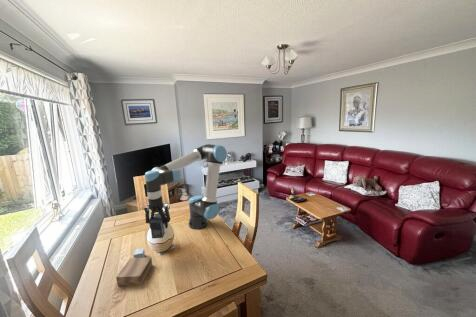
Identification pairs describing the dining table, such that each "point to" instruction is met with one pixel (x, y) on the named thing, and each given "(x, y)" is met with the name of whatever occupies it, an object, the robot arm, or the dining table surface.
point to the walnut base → (134, 271)
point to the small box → (157, 226)
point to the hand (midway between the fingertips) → (159, 232)
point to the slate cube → (139, 253)
